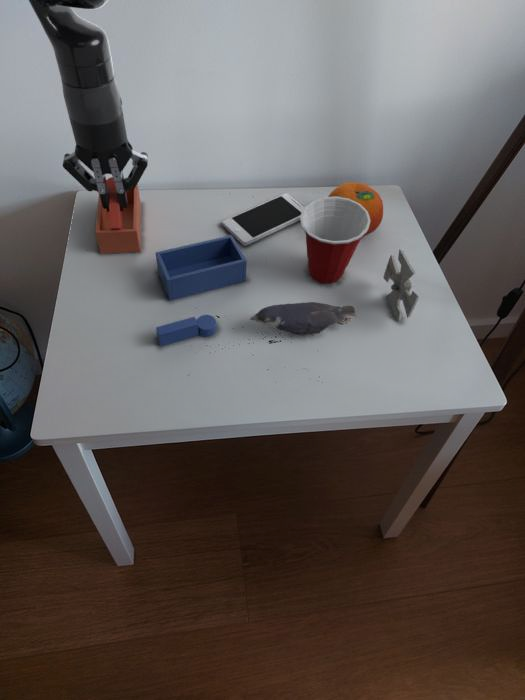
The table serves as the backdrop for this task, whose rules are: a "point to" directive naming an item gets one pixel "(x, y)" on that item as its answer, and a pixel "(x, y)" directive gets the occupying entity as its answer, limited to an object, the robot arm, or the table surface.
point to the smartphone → (264, 219)
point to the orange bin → (130, 222)
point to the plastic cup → (332, 235)
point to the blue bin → (201, 267)
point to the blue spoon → (186, 329)
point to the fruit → (363, 201)
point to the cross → (400, 285)
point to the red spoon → (114, 207)
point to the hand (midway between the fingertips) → (116, 208)
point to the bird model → (304, 317)
